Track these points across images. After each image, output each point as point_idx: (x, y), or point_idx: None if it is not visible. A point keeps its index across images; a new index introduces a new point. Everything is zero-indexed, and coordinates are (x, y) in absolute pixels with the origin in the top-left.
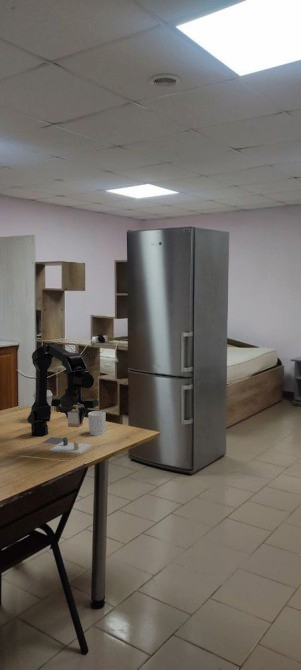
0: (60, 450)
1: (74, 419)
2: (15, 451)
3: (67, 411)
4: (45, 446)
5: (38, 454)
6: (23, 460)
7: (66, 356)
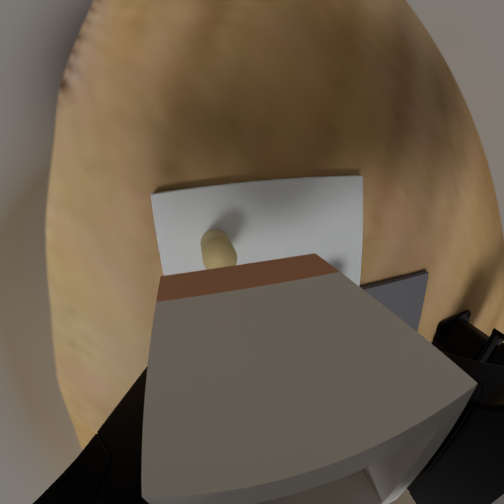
0: (300, 188)
1: (233, 335)
2: (463, 150)
3: (475, 408)
4: (404, 248)
5: (383, 131)
6: (390, 46)
7: None
